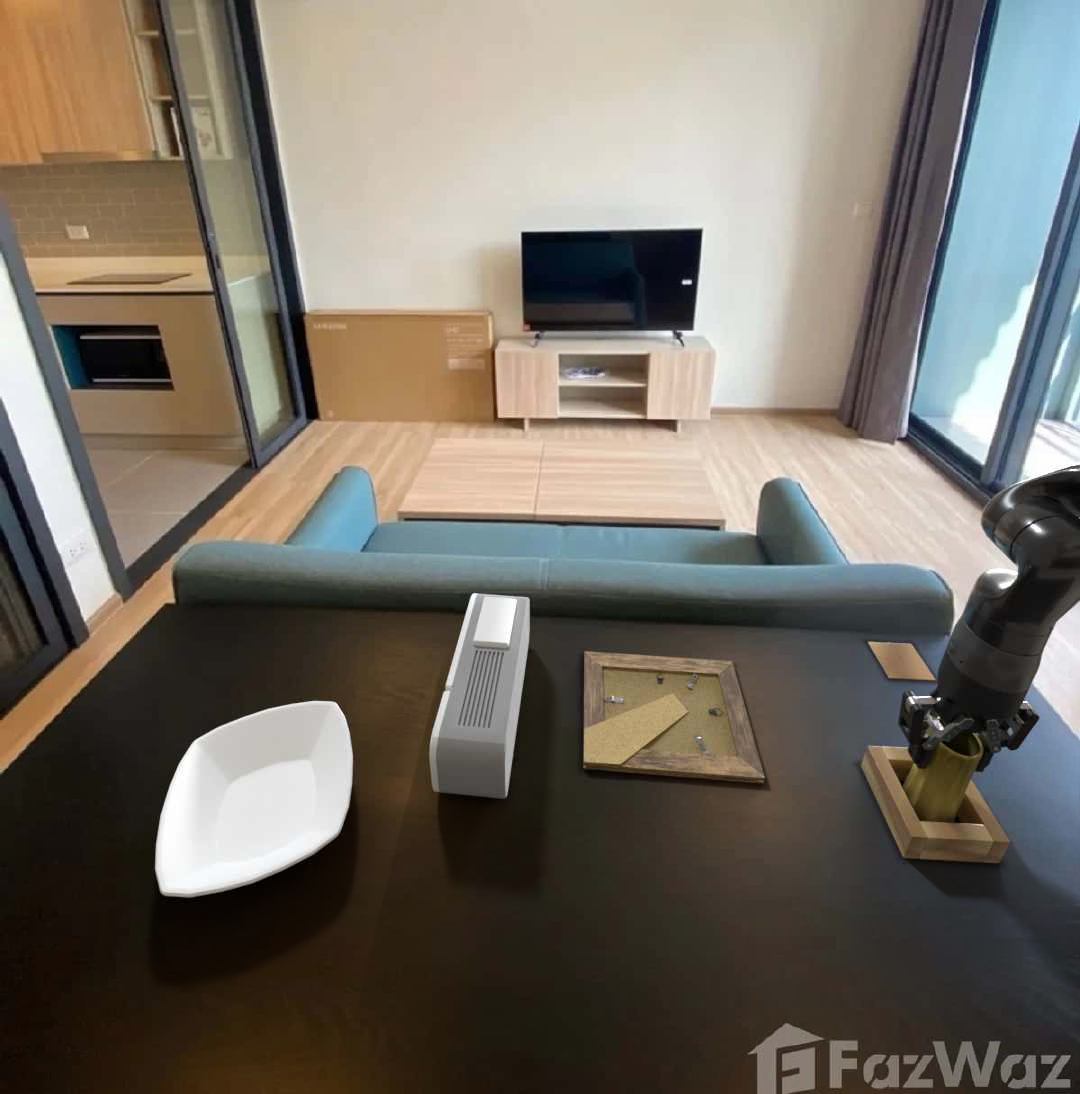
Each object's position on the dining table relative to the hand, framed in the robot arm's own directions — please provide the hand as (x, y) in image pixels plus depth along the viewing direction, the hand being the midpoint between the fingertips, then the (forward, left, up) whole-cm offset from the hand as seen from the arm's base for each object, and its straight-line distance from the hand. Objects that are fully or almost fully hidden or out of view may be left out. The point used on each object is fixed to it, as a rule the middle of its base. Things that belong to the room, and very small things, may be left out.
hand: (945, 762), depth 70 cm
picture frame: (+31, -12, -10) cm, 35 cm away
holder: (0, 0, -10) cm, 10 cm away
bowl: (+83, +4, -10) cm, 84 cm away
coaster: (-9, -24, -10) cm, 27 cm away
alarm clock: (+57, -11, -10) cm, 59 cm away
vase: (0, 0, -10) cm, 10 cm away
